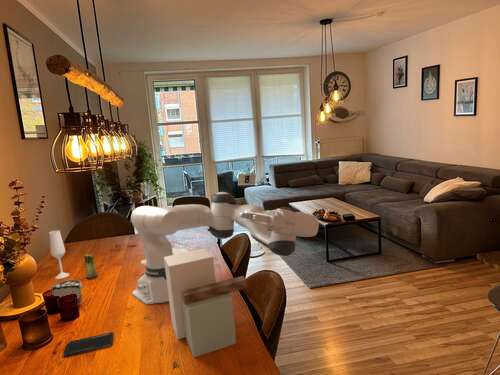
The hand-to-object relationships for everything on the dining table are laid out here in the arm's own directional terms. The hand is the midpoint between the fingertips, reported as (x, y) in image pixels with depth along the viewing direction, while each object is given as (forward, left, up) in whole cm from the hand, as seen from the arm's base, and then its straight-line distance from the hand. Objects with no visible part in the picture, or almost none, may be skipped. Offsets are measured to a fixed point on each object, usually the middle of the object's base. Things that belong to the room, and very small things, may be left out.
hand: (246, 216), depth 117 cm
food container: (-77, -27, -39) cm, 91 cm away
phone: (-41, -39, -40) cm, 69 cm away
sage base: (-6, -17, -39) cm, 43 cm away
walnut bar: (-5, -14, -23) cm, 27 cm away
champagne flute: (-114, -14, -39) cm, 122 cm away
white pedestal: (-18, -12, -39) cm, 44 cm away
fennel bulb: (-97, -7, -39) cm, 105 cm away
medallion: (-83, +29, -40) cm, 96 cm away
